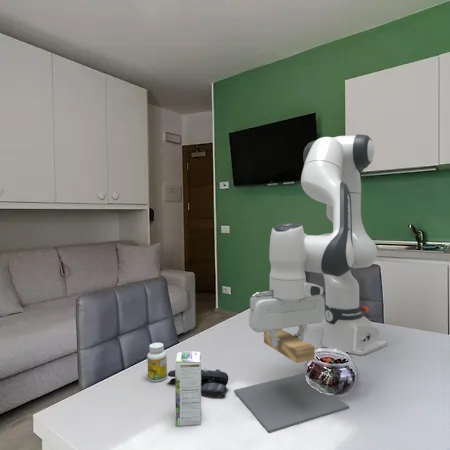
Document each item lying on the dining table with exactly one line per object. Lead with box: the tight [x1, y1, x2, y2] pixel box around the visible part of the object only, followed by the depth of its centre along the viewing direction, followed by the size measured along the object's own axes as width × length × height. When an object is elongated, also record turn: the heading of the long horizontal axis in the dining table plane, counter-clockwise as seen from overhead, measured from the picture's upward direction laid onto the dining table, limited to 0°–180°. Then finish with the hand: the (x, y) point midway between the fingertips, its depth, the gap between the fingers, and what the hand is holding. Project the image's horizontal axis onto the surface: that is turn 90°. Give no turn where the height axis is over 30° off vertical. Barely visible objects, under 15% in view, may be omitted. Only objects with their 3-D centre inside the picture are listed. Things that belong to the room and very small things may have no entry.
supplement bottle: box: [146, 342, 168, 383], centre depth 96 cm, size 5×5×10 cm
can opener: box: [167, 368, 229, 398], centre depth 90 cm, size 18×7×6 cm, turn 69°
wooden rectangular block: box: [263, 329, 316, 364], centre depth 83 cm, size 14×5×3 cm, turn 26°
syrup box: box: [174, 350, 202, 427], centre depth 76 cm, size 6×6×14 cm
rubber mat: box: [233, 372, 350, 434], centre depth 83 cm, size 22×18×1 cm
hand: (287, 343), depth 83 cm, fingers closed on wooden rectangular block, 5 cm apart
